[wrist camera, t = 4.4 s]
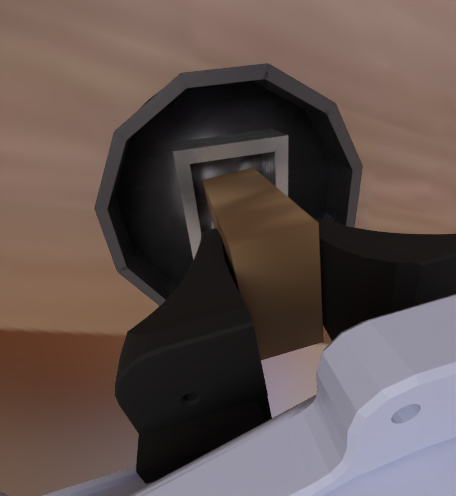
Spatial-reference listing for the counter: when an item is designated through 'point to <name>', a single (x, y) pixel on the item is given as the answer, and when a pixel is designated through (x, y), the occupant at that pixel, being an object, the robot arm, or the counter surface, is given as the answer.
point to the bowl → (217, 164)
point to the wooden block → (270, 259)
